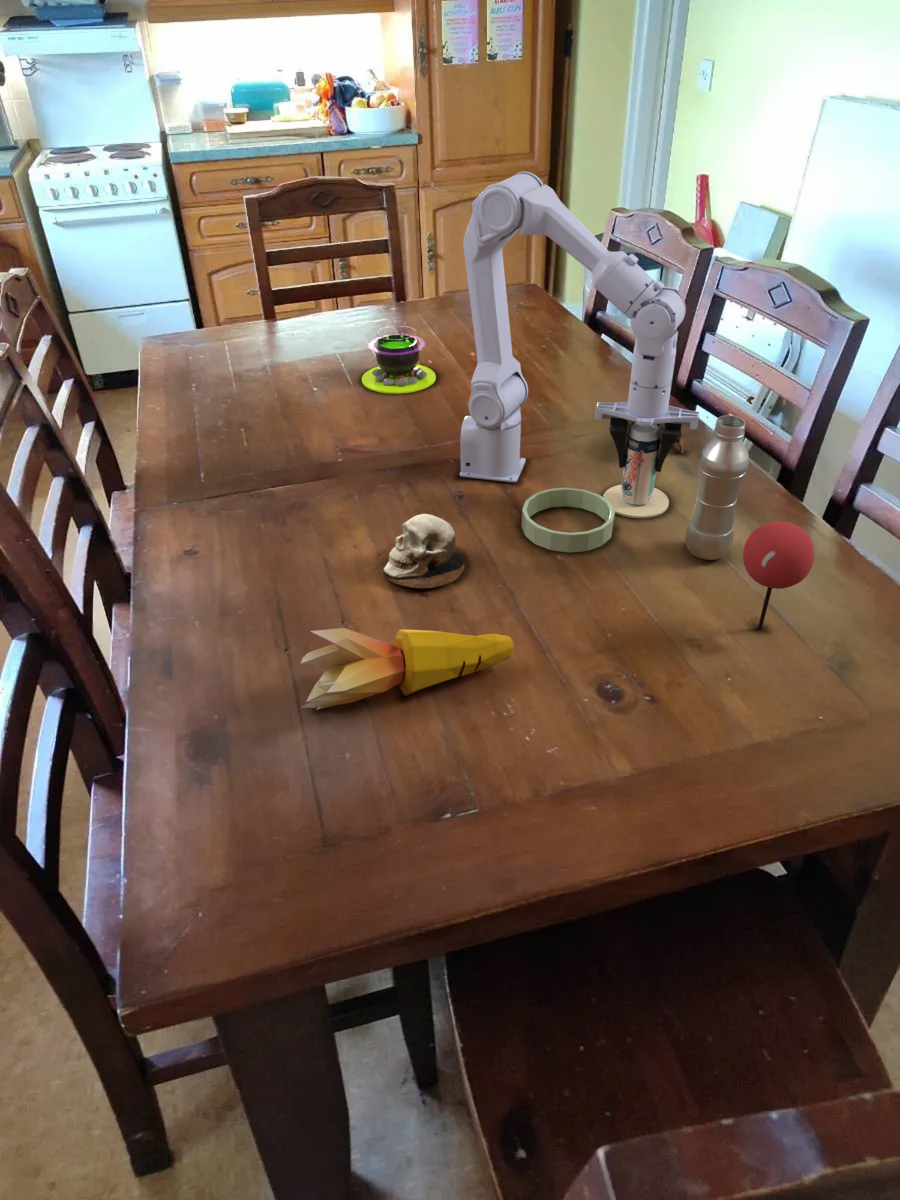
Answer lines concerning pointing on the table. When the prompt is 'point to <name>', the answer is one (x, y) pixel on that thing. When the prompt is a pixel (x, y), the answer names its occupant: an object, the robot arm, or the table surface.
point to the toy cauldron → (398, 365)
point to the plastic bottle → (718, 490)
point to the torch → (397, 662)
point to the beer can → (640, 464)
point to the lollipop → (778, 557)
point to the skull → (422, 554)
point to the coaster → (637, 511)
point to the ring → (565, 539)
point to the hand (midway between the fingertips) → (640, 466)
